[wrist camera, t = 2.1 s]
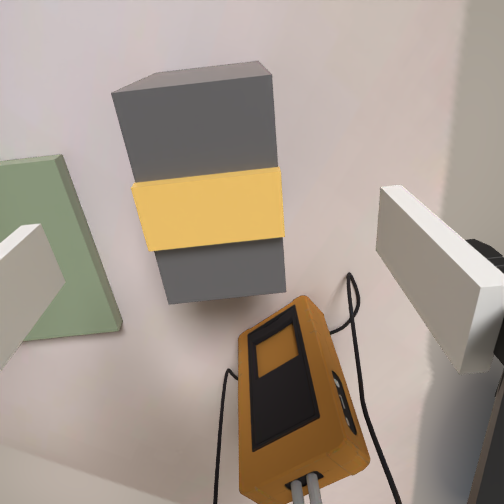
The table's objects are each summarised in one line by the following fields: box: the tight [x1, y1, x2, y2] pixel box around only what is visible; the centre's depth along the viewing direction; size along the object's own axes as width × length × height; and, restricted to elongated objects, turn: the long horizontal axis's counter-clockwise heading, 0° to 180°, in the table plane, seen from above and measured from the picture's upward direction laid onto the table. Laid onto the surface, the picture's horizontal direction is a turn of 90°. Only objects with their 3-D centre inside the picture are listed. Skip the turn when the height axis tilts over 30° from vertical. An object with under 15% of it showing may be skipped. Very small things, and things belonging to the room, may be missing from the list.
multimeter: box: [213, 273, 402, 504], centre depth 24 cm, size 15×10×20 cm
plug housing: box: [111, 61, 286, 304], centre depth 20 cm, size 10×6×10 cm, turn 6°
